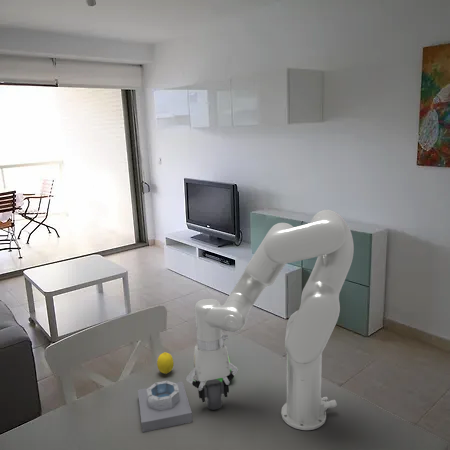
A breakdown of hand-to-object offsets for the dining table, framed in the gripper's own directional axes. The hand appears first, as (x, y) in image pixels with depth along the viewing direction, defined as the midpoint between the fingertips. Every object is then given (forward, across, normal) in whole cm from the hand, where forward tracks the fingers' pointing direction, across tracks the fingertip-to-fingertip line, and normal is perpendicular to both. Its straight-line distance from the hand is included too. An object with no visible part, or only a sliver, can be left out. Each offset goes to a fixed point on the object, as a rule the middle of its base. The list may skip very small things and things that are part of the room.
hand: (214, 396), depth 126 cm
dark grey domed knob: (+3, 0, 0) cm, 3 cm away
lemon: (+3, +12, -22) cm, 25 cm away
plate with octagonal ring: (+3, +15, -3) cm, 15 cm away
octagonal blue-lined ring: (0, +15, -3) cm, 15 cm away
